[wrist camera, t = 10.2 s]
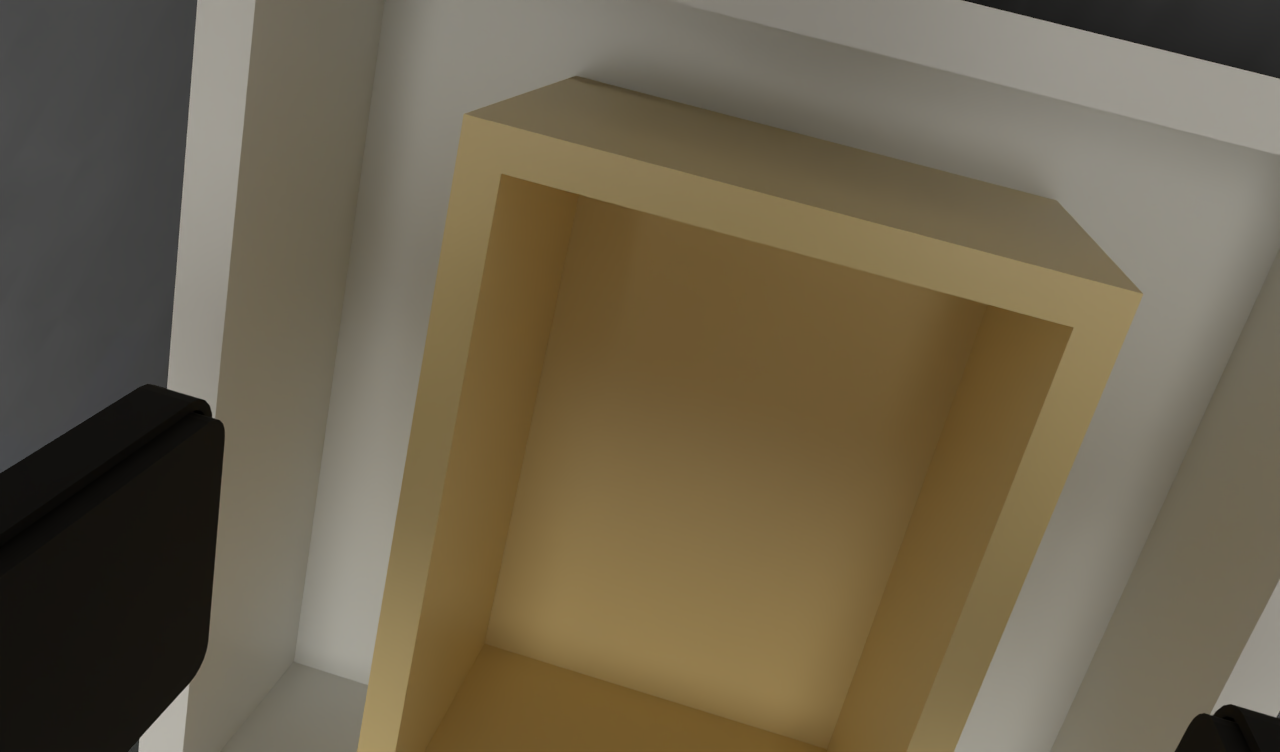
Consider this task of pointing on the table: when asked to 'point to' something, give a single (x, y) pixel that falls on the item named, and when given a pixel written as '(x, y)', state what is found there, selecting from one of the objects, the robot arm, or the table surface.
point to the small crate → (725, 437)
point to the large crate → (786, 99)
